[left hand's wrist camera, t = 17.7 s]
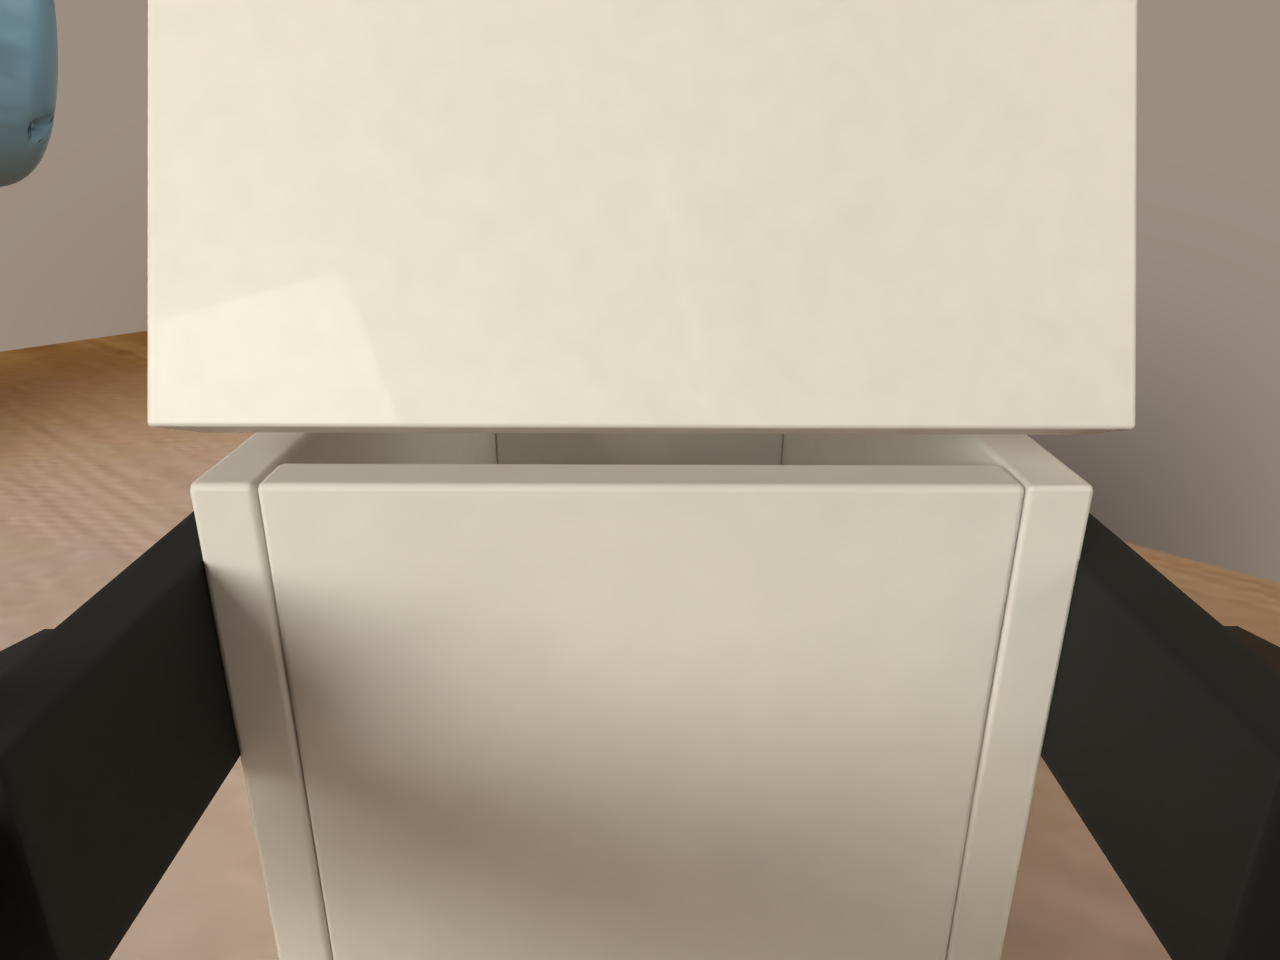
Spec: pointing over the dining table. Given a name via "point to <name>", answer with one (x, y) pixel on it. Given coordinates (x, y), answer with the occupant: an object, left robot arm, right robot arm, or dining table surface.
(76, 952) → the left robot arm
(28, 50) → the right robot arm
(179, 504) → the dining table surface
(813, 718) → the chest
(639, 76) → the lid
